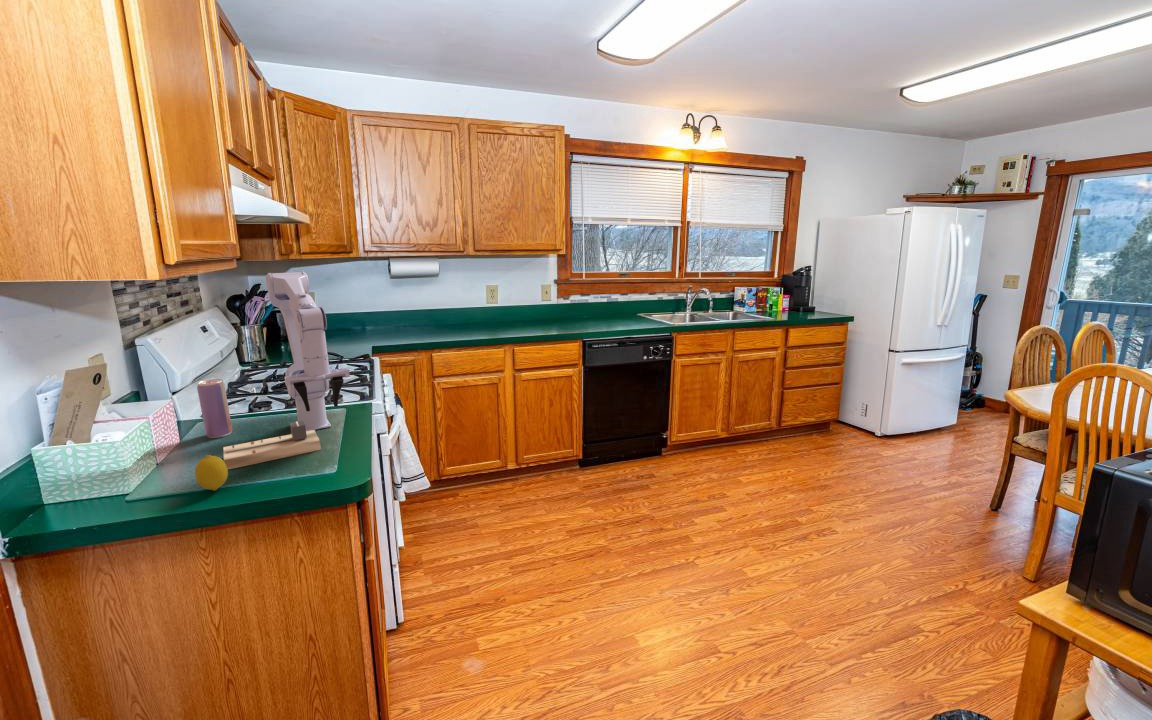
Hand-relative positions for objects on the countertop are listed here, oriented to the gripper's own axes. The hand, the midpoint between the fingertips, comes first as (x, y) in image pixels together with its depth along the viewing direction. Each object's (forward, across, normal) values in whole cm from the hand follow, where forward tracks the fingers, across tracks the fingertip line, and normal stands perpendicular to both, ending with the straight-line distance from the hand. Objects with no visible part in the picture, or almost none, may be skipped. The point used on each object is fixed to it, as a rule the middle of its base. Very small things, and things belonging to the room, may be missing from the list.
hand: (322, 407), depth 132 cm
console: (+9, -12, 0) cm, 15 cm away
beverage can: (+10, -23, +23) cm, 34 cm away
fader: (+6, -6, 0) cm, 9 cm away
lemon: (+10, -24, -15) cm, 30 cm away
